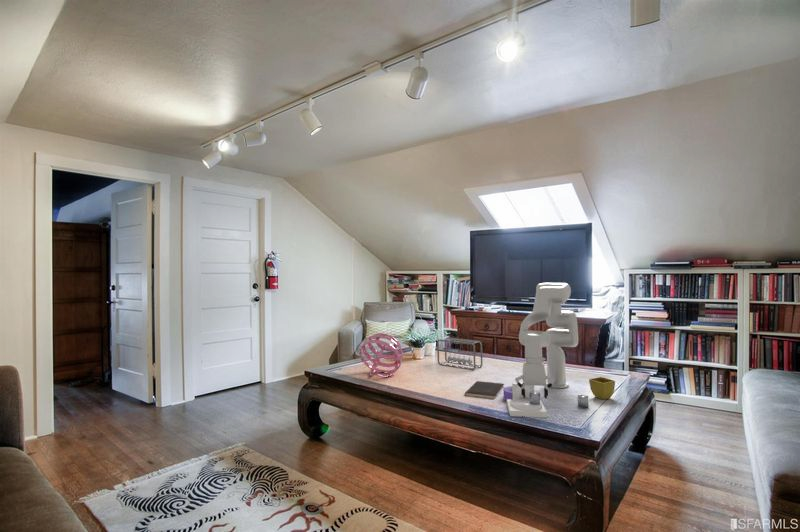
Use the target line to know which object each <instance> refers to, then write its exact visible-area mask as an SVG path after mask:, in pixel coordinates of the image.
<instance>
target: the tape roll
mask: <svg viewBox="0 0 800 532" xmlns="http://www.w3.org/2000/svg"><path fill="white" fill-rule="evenodd" d="M502 391H503V400H504V399H505V400H504V401H506V400H507V399H512V400H513V390H512V385H510V386H509V385H508V386H504V387H503V388H502Z"/></svg>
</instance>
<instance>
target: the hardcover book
mask: <svg viewBox="0 0 800 532" xmlns="http://www.w3.org/2000/svg"><path fill="white" fill-rule="evenodd" d="M504 386H505V383H501V382H500V383H499V382H492V381H490V382H489V381H481V380H477V381H475V382H474V383H473V384H472V385H471V386H470V387H469V389H467V390H466V391H465V392H464V396H466V395H470V396H469V397H475V396H478V397H477V398H484V397H486V398H485V399H492V398H494V400H495V399H496V398H497V396H498V395H499V393H501V391H502V390H503V389H504ZM500 390H501V391H500ZM497 394H498V395H497Z"/></svg>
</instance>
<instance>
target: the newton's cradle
mask: <svg viewBox="0 0 800 532" xmlns="http://www.w3.org/2000/svg"><path fill="white" fill-rule="evenodd" d="M439 342H444V360H445V362H446V361H451V362H458V363H463V364H469V365H474V366H473V367H466V366H463V367H464V368H469V369H474V370H476V369H477V368H482V367H483V343H482V342H481V340H473V339H465V338H454V337H445V338H443V339H438V340H437V341H436V344H437V346H436V348H437V351H436V352H437V364H438V363H440V343H439ZM447 343H451V344H456V346H458V344H460V349H459V350H458V353H460V350H462V349H461V347H462V348H466V347H467V348H469V347H470V348H469V349H471V346H472V347H473V359H472V358H471V357H468V358H466V356H463V357H461V356H458V357H457V356H456V355H453V356H451V353H452V352H451V351H449V352H448V355H449V356H447V351H448V350H447ZM477 343H479V344H480V346H479V347H480V365H478V364H476V345H475V344H477ZM463 345H465V346H463ZM466 345H467V346H466ZM468 345H469V347H468ZM448 348H450V346H449V344H448ZM452 348H453V351H454V353H456V350H457V348H455V350H454V347H452ZM467 353H468V355H470V351H467ZM463 355H465V352H463ZM442 363H443V362H441V364H442ZM445 364H446V365H449V364H448V363H445ZM451 365H452V366H456V364H451ZM457 366H458V367H462V366H460V365H457ZM476 366H478V367H477V368H476ZM479 366H480V367H479ZM469 369H468V370H469Z"/></svg>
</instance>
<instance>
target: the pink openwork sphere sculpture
mask: <svg viewBox="0 0 800 532" xmlns="http://www.w3.org/2000/svg"><path fill="white" fill-rule="evenodd" d="M373 338H375V339H373ZM380 339H385V340H387V341H390V343H389V342H386V341H384V340H380ZM392 343H393V344H392ZM373 344H376V345H377V346H378V348H379V349H380V351H378V350H376V349H375V347H374V346H373ZM366 345H368V349H370V351H371V352H372V353H373V354H374V355H375V356H376V358H374V357H372V356H371V355H370V354H369V352H368V351H367V349H366ZM397 348H398V349H399V350H398V349H397ZM384 351H386V352H393V354H390V355H388V354H384V353H383V352H384ZM362 352H363V354H364V356H365V357H366V358H367V359H368V360H369V361H370V362H371V363H372V365H371V364H370V363H369V362H367V361H366V360H365V358H364V356H363V354H362ZM358 353H359V358H360V361H362V363H363V364H364V366H366V367H368V369H369V370H370V372H369V376H370V377H373V376H374V374H375V372H376V373H377V377H381V378H389V377H391V376H393V375H394V374H395V373H396V372H397V371H398V370H399V369H400V368H401V366H402V361H403V358H404V352H403V350H402V346H401V344H400V341H398V339H396V338H395V337H394V336H393V335H391V334H388V333H383V332H382V333H381V332H379V333H374V334H372V335H371V336H368V337H367V338H365V339H364V341H363V343H362V344H361V346H360V347H359V352H358ZM381 359H385V360H394V362H392V363H391V362H389V363H386V362H383V361H381ZM378 366H380V367H385V368H393V369H390V370H389V369H388V370H385V369H384V370H383V369H380V368H377V367H378ZM379 372H387V373H386V374H388V375H382V374H379ZM373 373H374V374H373ZM388 376H389V377H388Z"/></svg>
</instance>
